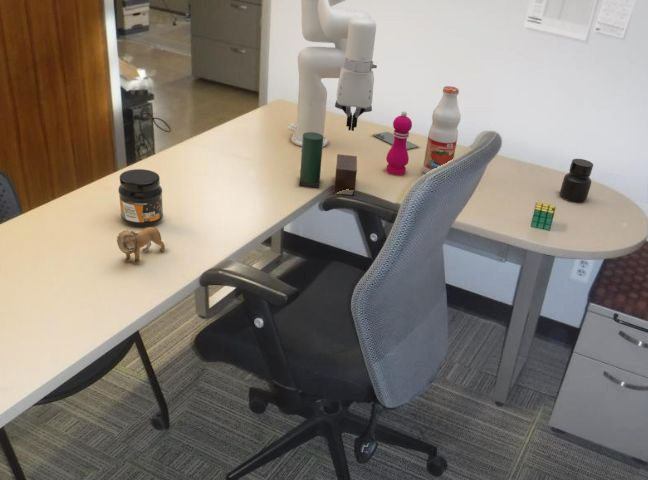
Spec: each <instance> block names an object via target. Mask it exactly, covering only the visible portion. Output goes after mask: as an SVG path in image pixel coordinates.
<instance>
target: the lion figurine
mask: <svg viewBox="0 0 648 480" xmlns="http://www.w3.org/2000/svg"><path fill="white" fill-rule="evenodd" d="M152 242H153V243H154V244H155V245H158V246H160V248H159V252H161V253H164V252H165V250H166V249H165V243H164V241H162V236H161V232H160V230H159V229H158V228H157V227H154V226H150V227H144V228H143V229H142V230H140V231H139V232H135V231H134V230H123V231H121V232H119V233H118V235H117V236H116V243H117V246H118V249H119V250H120V251H121V252H122V253H123V254H125V258H124V263H125V262H126V263H129V262H130V261H131V255H132V254H134V264H135V265H140V264H141V259H140V250H141V248H143V249H142V252H144V253H146V252H147V253H148V251H150V248H151V246H152ZM144 247H145V248H144Z"/></svg>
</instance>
